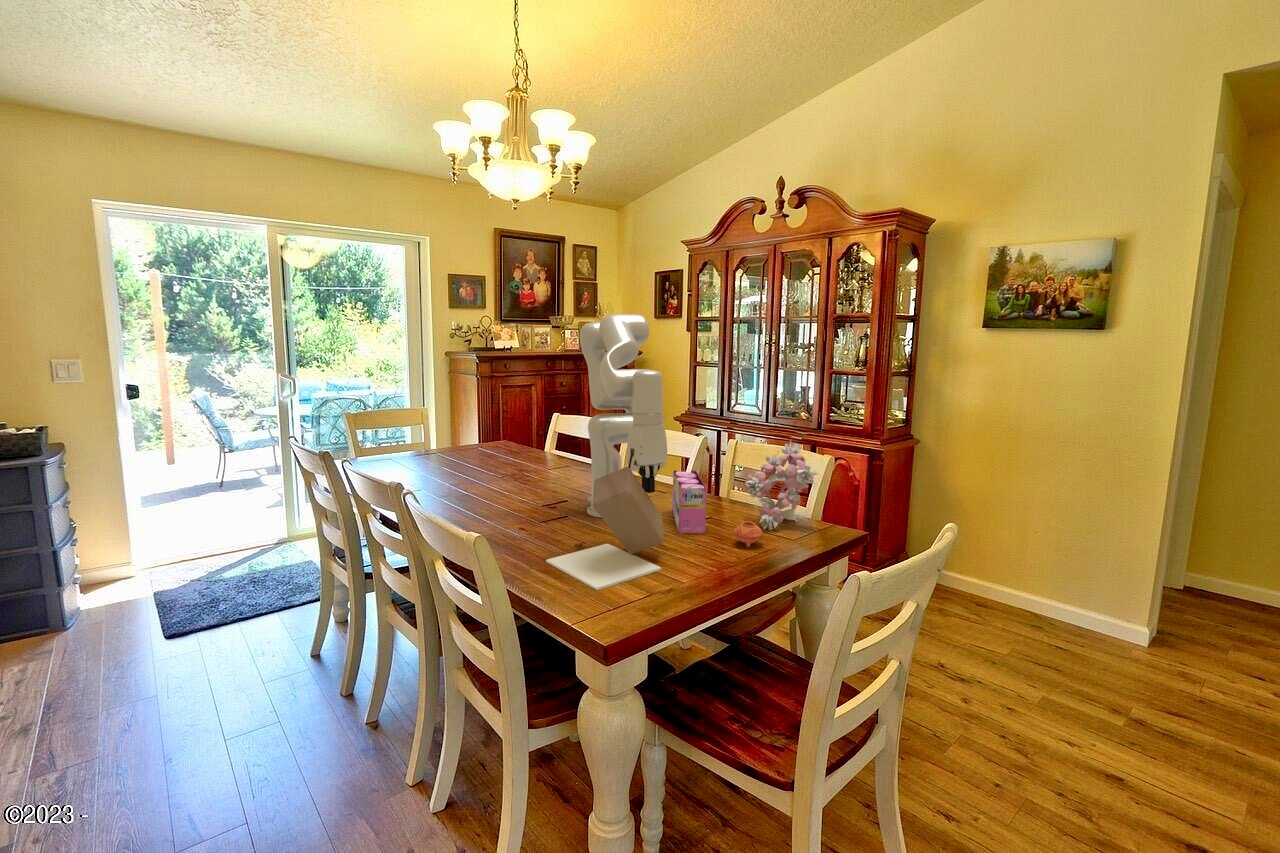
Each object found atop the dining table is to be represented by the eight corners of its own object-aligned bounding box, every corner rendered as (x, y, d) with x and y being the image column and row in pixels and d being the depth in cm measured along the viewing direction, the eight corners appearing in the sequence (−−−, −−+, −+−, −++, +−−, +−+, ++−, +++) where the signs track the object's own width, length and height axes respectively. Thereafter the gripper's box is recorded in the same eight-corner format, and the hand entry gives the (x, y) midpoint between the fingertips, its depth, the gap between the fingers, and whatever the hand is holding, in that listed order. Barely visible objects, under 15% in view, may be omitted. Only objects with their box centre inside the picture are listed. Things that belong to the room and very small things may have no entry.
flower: (719, 509, 193) (733, 445, 179) (779, 494, 202) (796, 433, 188) (753, 553, 178) (771, 488, 164) (816, 536, 187) (838, 472, 173)
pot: (751, 536, 171) (755, 515, 169) (765, 551, 164) (770, 529, 162) (725, 538, 168) (730, 517, 166) (739, 554, 162) (744, 532, 159)
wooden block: (663, 515, 161) (628, 464, 150) (665, 544, 153) (628, 492, 142) (629, 527, 163) (592, 478, 152) (629, 556, 155) (591, 506, 144)
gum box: (671, 510, 198) (671, 469, 196) (695, 510, 198) (696, 469, 196) (678, 534, 174) (679, 487, 172) (706, 533, 175) (707, 487, 172)
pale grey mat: (545, 562, 153) (545, 559, 152) (607, 545, 164) (607, 543, 164) (596, 590, 136) (596, 587, 136) (661, 569, 148) (661, 567, 147)
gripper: (660, 416, 161) (660, 485, 163) (614, 421, 151) (616, 493, 154) (679, 419, 155) (679, 489, 157) (633, 423, 146) (634, 499, 148)
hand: (648, 491), depth 155 cm, fingers closed
